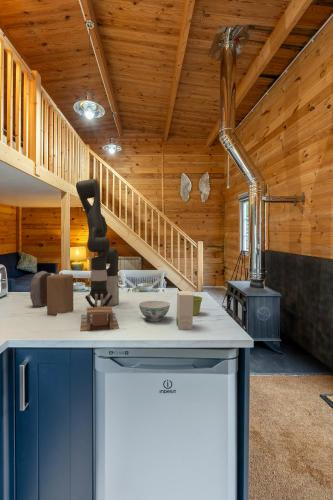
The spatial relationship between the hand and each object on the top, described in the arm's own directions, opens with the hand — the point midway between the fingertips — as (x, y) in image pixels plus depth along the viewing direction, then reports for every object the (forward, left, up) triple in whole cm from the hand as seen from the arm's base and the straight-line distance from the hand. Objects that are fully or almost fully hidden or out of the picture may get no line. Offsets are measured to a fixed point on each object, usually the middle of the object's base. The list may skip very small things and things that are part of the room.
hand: (99, 315), depth 144 cm
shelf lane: (+4, +6, -3) cm, 7 cm away
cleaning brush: (+8, -50, -3) cm, 51 cm away
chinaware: (-20, +17, -3) cm, 27 cm away
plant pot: (-42, +23, -3) cm, 48 cm away
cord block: (+2, +4, -1) cm, 5 cm away
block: (+8, -25, -3) cm, 26 cm away
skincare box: (-22, +35, -3) cm, 42 cm away
